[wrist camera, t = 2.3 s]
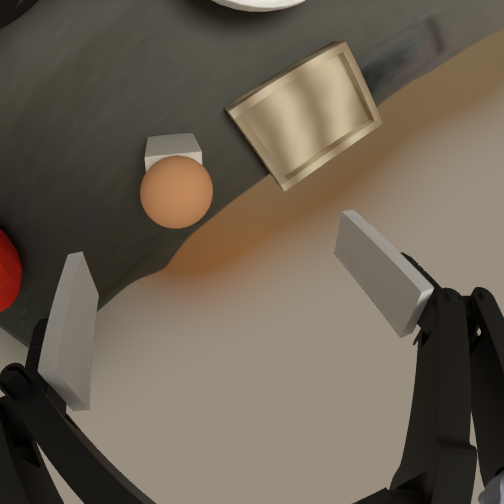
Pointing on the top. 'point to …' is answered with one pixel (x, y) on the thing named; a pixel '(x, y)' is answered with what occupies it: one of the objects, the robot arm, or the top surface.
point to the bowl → (258, 4)
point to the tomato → (8, 272)
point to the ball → (176, 192)
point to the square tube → (171, 148)
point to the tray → (306, 113)
